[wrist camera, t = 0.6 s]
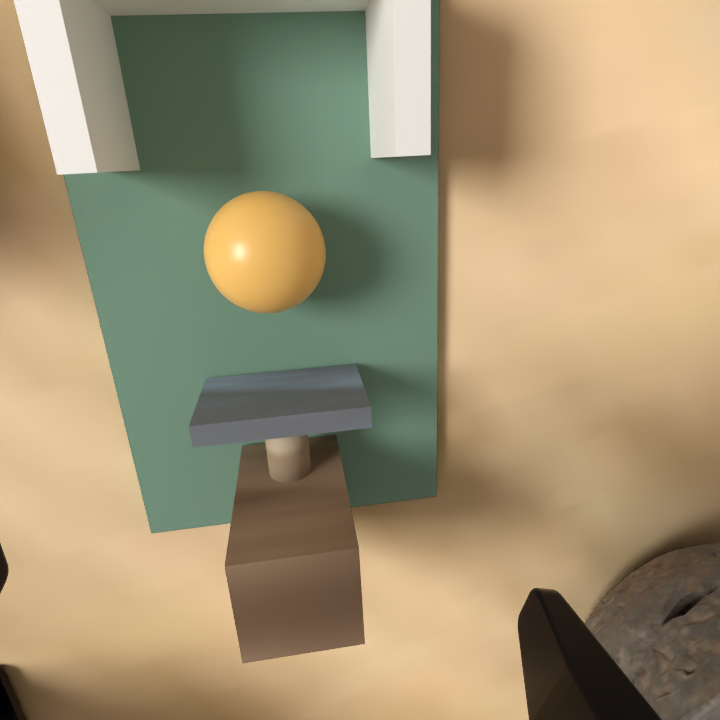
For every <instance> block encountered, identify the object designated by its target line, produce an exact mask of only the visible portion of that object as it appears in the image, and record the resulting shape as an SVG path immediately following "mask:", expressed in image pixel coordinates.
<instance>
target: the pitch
mask: <svg viewBox="0 0 720 720" xmlns="http://www.w3.org/2000/svg"><path fill="white" fill-rule="evenodd" d="M111 21H112V26H113V32H114V37H115V42H116V47H117V52H118V57H119V63H120V68H121V73H122V78H123V83H124V88H125V94H126V99H127V104H128V109H129V114H130V119H131V125H132V130H133V135H134V140H135V145H136V150H137V156H138V161H139V166H140V170H137V171H118V172H99V173H81V174H63V175H64V179H65V183H66V187H67V191H68V195H69V199H70V204H71V208H72V212H73V216H74V220H75V224H76V228H77V232H78V236H79V240H80V244H81V248H82V252H83V256H84V261H85V265H86V269H87V273H88V277H89V281H90V285H91V289H92V293H93V297H94V301H95V305H96V309H97V313H98V318H99V322H100V326H101V330H102V334H103V338H104V342H105V346H106V350H107V354H108V358H109V362H110V366H111V370H112V375H113V379H114V383H115V387H116V391H117V395H118V399H119V403H120V407H121V411H122V415H123V419H124V423H125V427H126V432H127V436H128V440H129V444H130V448H131V452H132V456H133V460H134V464H135V468H136V472H137V476H138V480H139V485H140V489H141V493H142V497H143V501H144V505H145V509H146V513H147V517H148V521H149V525H150V529H151V533H158V532H166V531H174V530H181V529H189V528H197V527H204V526H212V525H220V524H227V523H231V519H232V512H233V505H234V498H235V491H236V484H237V478H238V471H239V464H240V457H241V450H242V446H244V445H252V444H261V443H265V440H258V441H249V442H240V443H231V444H223V445H214V446H205V447H196V448H193V447H192V441H191V436H190V431H189V424H190V421H191V418H192V416H193V413H194V410H195V407H196V404H197V401H198V399H199V396H200V393H201V390H202V387H203V385H204V382H205V379H206V378H216V377H226V376H236V375H246V374H256V373H267V372H277V371H287V370H297V369H307V368H317V367H328V366H338V365H348V364H356V366H357V369H358V372H359V375H360V377H361V380H362V383H363V386H364V388H365V391H366V394H367V397H368V400H369V402H370V405H371V415H372V428H364V429H355V430H347V431H338V432H329V433H320V434H311V435H308V438H314V437H323V436H332V435H337V440H338V445H339V451H340V456H341V461H342V466H343V471H344V476H345V481H346V486H347V491H348V496H349V501H350V506H351V507H358V506H366V505H374V504H381V503H389V502H397V501H404V500H412V499H420V498H428V497H435V496H436V477H437V314H438V152H439V0H431V155H420V156H401V157H382V158H371V146H370V121H369V95H368V69H367V43H366V17H365V11H322V12H273V13H224V14H175V15H126V16H111ZM254 191H271V192H277V193H280V194H284V195H286V196H288V197H291V198H292V199H294V200H296V201H297V202H299V203H300V204H301V205H303V206H304V207H305V208H306V209H307V210H308V211H309V212H310V213H311V214H312V216H313V217H314V218H315V220H316V221H317V223H318V225H319V227H320V229H321V232H322V234H323V238H324V241H325V249H326V260H325V267H324V271H323V274H322V277H321V279H320V281H319V283H318V285H317V287H316V288H315V289H314V291H313V292H312V293H311V294H310V295H309V296H308V297H307V298H306V299H305V300H304V301H303V302H301V303H300V304H298V305H297V306H295V307H293V308H291V309H288V310H286V311H282V312H278V313H256V312H252V311H248V310H245V309H243V308H241V307H239V306H237V305H235V304H233V303H232V302H230V301H229V300H228V299H227V298H225V297H224V296H223V295H222V294H221V293H220V291H219V290H218V289H217V288H216V286H215V285H214V283H213V282H212V280H211V278H210V276H209V273H208V271H207V268H206V264H205V260H204V240H205V235H206V232H207V229H208V227H209V224H210V222H211V220H212V219H213V217H214V216H215V214H216V213H217V212H218V211H219V209H220V208H221V207H222V206H223V205H225V204H226V203H227V202H228V201H230V200H232V199H233V198H235V197H237V196H239V195H242V194H245V193H248V192H254Z"/></svg>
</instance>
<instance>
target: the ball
mask: <svg viewBox="0 0 720 720" xmlns="http://www.w3.org/2000/svg"><path fill="white" fill-rule="evenodd" d="M204 260H205V264H206V268H207V271H208V273H209V276H210V278H211V280H212V282H213V283H214V285H215V286H216V288H217V289H218V290H219V291H220V293H221V294H222V295H223V296H224V297H225V298H227V299H228V300H229V301H230V302H232V303H233V304H235V305H237V306H239V307H241V308H243V309H245V310H248V311H252V312H256V313H278V312H282V311H286V310H288V309H291V308H293V307H295V306H297V305H298V304H300V303H301V302H303V301H304V300H305V299H306V298H307V297H308V296H309V295H310V294H311V293H312V292H313V291H314V289H315V288H316V287H317V285H318V283H319V281H320V279H321V277H322V274H323V271H324V267H325V260H326V249H325V241H324V238H323V234H322V232H321V229H320V227H319V225H318V223H317V221H316V220H315V218H314V217H313V216H312V214H311V213H310V212H309V211H308V210H307V209H306V208H305V207H304V206H303V205H301V204H300V203H299V202H297V201H296V200H294V199H292V198H291V197H288V196H286V195H284V194H280V193H277V192H271V191H254V192H248V193H245V194H242V195H239V196H237V197H235V198H233V199H232V200H230V201H228V202H227V203H226V204H225V205H223V206H222V207H221V208H220V209H219V211H218V212H217V213H216V214H215V216H214V217H213V219H212V220H211V222H210V224H209V227H208V229H207V232H206V235H205V240H204Z"/></svg>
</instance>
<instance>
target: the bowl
mask: <svg viewBox="0 0 720 720" xmlns="http://www.w3.org/2000/svg"><path fill="white" fill-rule="evenodd" d="M585 625H586V626H587V627H588V629H589V630H590V631H591V632H592V634H593V635H594V636H595V637H596V639H597V640H598V641H599V642H600V644H601V645H602V646H603V647H604V648H605V650H606V651H607V652H608V653H609V655H610V656H611V657H612V658H613V660H614V661H615V662H616V663H617V665H618V666H619V667H620V668H621V669H622V671H623V672H624V673H625V674H626V676H627V677H628V678H629V679H630V681H631V682H632V683H633V684H634V686H635V687H636V688H637V689H638V690H639V692H640V693H641V694H642V695H643V697H644V698H645V699H646V700H647V702H648V703H649V704H650V705H651V707H652V708H653V709H654V710H655V711H656V713H657V714H658V715H659V716H660V718H661V719H662V720H720V542H719V543H711V544H703V545H695V546H690V547H686V548H682V549H678V550H674V551H670V552H668V553H666V554H663V555H661V556H659V557H656V558H654V559H652V560H651V561H649V562H647V563H645V564H644V565H642V566H641V567H639V568H638V569H636V570H635V571H633V572H632V573H630V574H629V575H628V576H627V577H625V578H624V579H623V580H622V581H621V582H620V583H618V584H617V585H616V586H615V587H614V588H613V589H611V590H610V591H609V593H608V594H607V595H606V596H605V597H604V598H603V599H602V600H601V601H600V603H599V604H598V605H597V607H596V608H595V609H594V611H593V612H592V614H591V615H590V616H589V618H588V619H587V621H586V622H585Z"/></svg>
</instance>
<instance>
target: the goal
mask: <svg viewBox="0 0 720 720" xmlns="http://www.w3.org/2000/svg"><path fill="white" fill-rule="evenodd" d="M14 4H15V8H16V12H17V16H18V20H19V24H20V28H21V32H22V36H23V40H24V44H25V48H26V52H27V56H28V60H29V64H30V68H31V72H32V76H33V80H34V84H35V88H36V92H37V96H38V100H39V104H40V108H41V112H42V116H43V120H44V124H45V128H46V132H47V136H48V140H49V144H50V148H51V152H52V156H53V160H54V164H55V168H56V172H57V175H62V174H81V173H99V172H118V171H137V170H140V166H139V161H138V156H137V150H136V145H135V140H134V135H133V130H132V125H131V119H130V114H129V109H128V104H127V99H126V94H125V88H124V83H123V78H122V73H121V68H120V63H119V57H118V52H117V47H116V42H115V37H114V32H113V26H112V21H111V16H126V15H175V14H224V13H273V12H322V11H365V17H366V43H367V69H368V95H369V121H370V146H371V158H382V157H401V156H420V155H431V0H14Z"/></svg>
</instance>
